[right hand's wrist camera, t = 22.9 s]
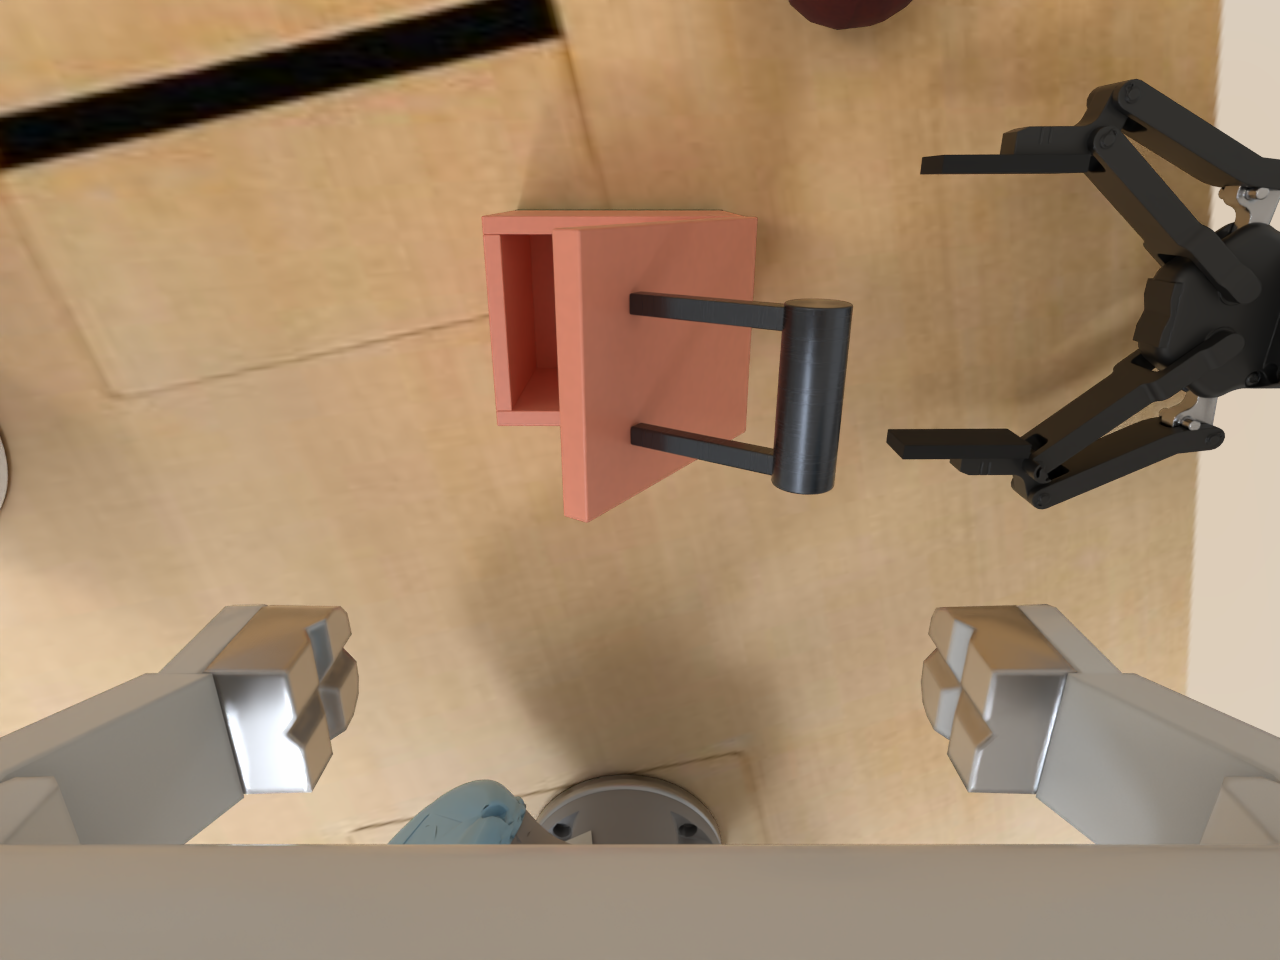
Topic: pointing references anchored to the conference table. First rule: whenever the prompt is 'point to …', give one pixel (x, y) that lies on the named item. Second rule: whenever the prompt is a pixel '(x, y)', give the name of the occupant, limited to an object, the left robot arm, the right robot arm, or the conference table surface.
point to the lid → (684, 361)
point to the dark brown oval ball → (848, 11)
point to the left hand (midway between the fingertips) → (911, 314)
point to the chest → (537, 303)
